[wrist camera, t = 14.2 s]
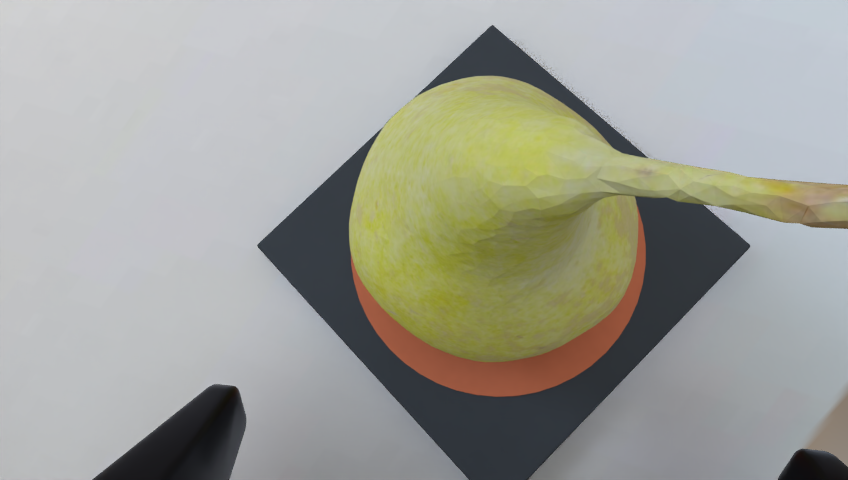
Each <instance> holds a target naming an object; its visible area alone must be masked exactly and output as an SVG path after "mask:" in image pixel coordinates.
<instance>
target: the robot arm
mask: <svg viewBox="0 0 848 480" xmlns="http://www.w3.org/2000/svg"><path fill="white" fill-rule="evenodd" d="M245 427H246V414H245V411H244V407H243V403H242V400H241V396H240V392H239V390H238V389H237V388H236V387H235V386H230V385H220V384H215V385H212V386H210V387H208V388H207V389H206V390H204V391H203V392H202V393H201V394H199V395H198V396H197V397H196V398H194V399H193V400H192V401H191V402H189V403H188V404H187V405H186V406H184V407H183V408H182V409H181V410H179V411H178V412H177V413H175V414H174V415H173V416H172V417H170V418H169V419H168V420H167V421H165V422H164V423H163V424H162V425H160V426H159V427H158V428H157V429H155V430H154V431H153V432H152V433H150V434H149V435H148V436H147V437H145V438H144V439H143V440H142V441H140V442H139V443H138V444H137V445H135V446H134V447H133V448H132V449H130V450H129V451H128V452H126V453H125V454H124V455H123V456H121V457H120V458H119V459H118V460H116V461H115V462H114V463H113V464H111V465H110V466H109V467H108V468H106V469H105V470H104V471H103V472H101V473H100V474H99V475H98V476H96V477H95V478H94V479H93V480H229V479H230V476H231V472H232V469H233V466H234V463H235V460H236V457H237V454H238V450H239V447H240V444H241V441H242V438H243V435H244V431H245ZM778 480H848V467H847V466H846V465H845V464H844V463H842V461H840V460H839V459H838V458H837V457H836V456H834V455H833V454H831V453H829V452H825V451H818V450H810V449H800V450H798V451H796V452H795V453H794V455H793V456H792V458H791V459H790V461H789V462H788V464H787V465H786V467H785V468H784V470H783V471H782V473H781V474H780V476H779V478H778Z"/></svg>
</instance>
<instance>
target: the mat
mask: <svg viewBox="0 0 848 480" xmlns="http://www.w3.org/2000/svg"><path fill="white" fill-rule="evenodd" d="M475 76H501V77H506V78H511V79H516V80H519V81H522V82H525V83H528V84H530V85H532V86H534V87H536V88H538V89H540V90H542V91H544V92H545V93H547V94H549V95H550V96H552V97H554V98H555V99H557V100H558V101H560V102H562V103H563V104H564V105H566V106H567V107H569V108H570V109H571V110H573V111H574V112H576V113H577V114H578V115H580V116H581V117H582V118H583V119H585V120H586V121H587V122H588V123H589V124H591V125H592V126H593V127H594V128H595V129H596V130H597V131H598V132H599V133H600V134H601V135H602V136H603V137H604V139H605V140H606V141H607V142H608V143H609V144H610V145H611V146H612V148H614V149H615V150H617V151H619V152H621V153H623V154H628V155H633V156H638V157H644V158H648V157H646V156H645V155H644V154H643V153H642V152H641V151H639V150H638V149H637V148H636V147H635V146H633V145H632V144H631V143H630V142H629V141H628V140H626V139H625V138H624V137H623V136H622V135H621V134H619V133H618V132H617V131H616V130H615V129H614V128H612V127H611V126H610V125H609V124H608V123H607V122H605V121H604V120H603V119H602V118H601V117H600V116H598V115H597V114H596V113H595V112H594V111H593V110H591V109H590V108H589V107H588V106H587V105H585V104H584V103H583V102H582V101H581V100H580V99H578V98H577V97H576V96H575V95H574V94H573V93H571V92H570V91H569V90H568V89H567V88H566V87H564V86H563V85H562V84H561V83H560V82H559V81H557V80H556V79H555V78H554V77H553V76H552V75H550V74H549V73H548V72H547V71H546V70H545V69H543V68H542V67H541V66H540V65H539V64H537V63H536V62H535V61H534V60H533V59H532V58H530V57H529V56H528V55H527V54H526V53H525V52H523V51H522V50H521V49H520V48H519V47H518V46H516V45H515V44H514V43H513V42H512V41H511V40H509V39H508V38H507V37H506V36H505V35H504V34H502V33H501V32H500V31H499V30H498V29H497V28H495V27H494V26H493V25H492V26H491V27H489V28H488V29H487V30H486V31H485V32H484V33H483V34H482V35H481V36H480V37H479V38H478V39H477V40H476V41H475V42H473V43H472V44H471V45H470V46H469V47H468V48H467V49H466V50H465V51H464V52H463V53H462V54H461V55H460V56H459V57H457V58H456V59H455V60H454V61H453V62H452V63H451V64H450V65H449V66H448V67H447V68H446V69H445V70H444V71H443V72H441V73H440V74H439V75H438V76H437V77H436V78H435V79H434V80H433V81H432V82H431V83H430V84H429V85H428V86H426V87H425V88H424V89H423V90H422V91H421V92H420V93H419V94H418V95H420V94H422V93H424V92H426V91H428V90H430V89H432V88H434V87H437V86H439V85H442V84H445V83H448V82H452V81H455V80H459V79H463V78H468V77H475ZM418 95H417V96H418ZM417 96H416V97H417ZM382 129H383V128H382ZM382 129H381V130H382ZM381 130H380V131H378V132H377V133H376V134H375V135H374V136H373V137H372V138H371V139H370V140H369V141H368V142H367V143H366V144H365V145H364V146H362V147H361V148H360V149H359V150H358V151H357V152H356V153H355V154H354V155H353V156H352V157H351V158H350V159H349V160H347V161H346V162H345V163H344V164H343V165H342V166H341V167H340V168H339V169H338V170H337V171H336V172H335V173H334V174H333V175H331V176H330V177H329V178H328V179H327V180H326V181H325V182H324V183H323V184H322V185H321V186H320V187H319V188H318V189H317V190H315V191H314V192H313V193H312V194H311V195H310V196H309V197H308V198H307V199H306V200H305V201H304V202H303V203H302V204H301V205H299V206H298V207H297V208H296V209H295V210H294V211H293V212H292V213H291V214H290V215H289V216H288V217H287V218H286V219H284V220H283V221H282V222H281V223H280V224H279V225H278V226H277V227H276V228H275V229H274V230H273V231H272V232H271V233H270V234H268V235H267V236H266V237H265V238H264V239H263V240H262V241H261V242H260V243H259V244H258V245H257V246H258V248H259V249H260V250H261V251H262V252H263V253H264V254H265V255H266V256H267V258H268V259H269V260H270V261H271V262H272V263H273V264H274V265H275V266H276V267H277V269H278V270H279V271H280V272H281V273H282V274H283V275H284V276H285V277H286V278H287V280H288V281H289V282H290V283H291V284H292V285H293V286H294V287H295V288H296V289H297V291H298V292H299V293H300V294H301V295H302V296H303V297H304V298H305V299H306V300H307V302H308V303H309V304H310V305H311V306H312V307H313V308H314V309H315V310H316V311H317V313H318V314H319V315H320V316H321V317H322V318H323V319H324V320H325V321H326V323H327V324H328V325H329V326H330V327H331V328H332V329H333V330H334V331H335V332H336V334H337V335H338V336H339V337H340V338H341V339H342V340H343V341H344V342H345V343H346V345H347V346H348V347H349V348H350V349H351V350H352V351H353V352H354V353H355V354H356V356H357V357H358V358H359V359H360V360H361V361H362V362H363V363H364V364H365V365H366V367H367V368H368V369H369V370H370V371H371V372H372V373H373V374H374V375H375V376H376V378H377V379H378V380H379V381H380V382H381V383H382V384H383V385H384V386H385V387H386V389H387V390H388V391H389V392H390V393H391V394H392V395H393V396H394V397H395V398H396V400H397V401H398V402H399V403H400V404H401V405H402V406H403V407H404V408H405V409H406V411H407V412H408V413H409V414H410V415H411V416H412V417H413V418H414V419H415V420H416V422H417V423H418V424H419V425H420V426H421V427H422V428H423V429H424V430H425V431H426V433H427V434H428V435H429V436H430V437H431V438H432V439H433V440H434V441H435V442H436V444H437V445H438V446H439V447H440V448H441V449H442V450H443V451H444V452H445V453H446V455H447V456H448V457H449V458H450V459H451V460H452V461H453V462H454V463H455V464H456V466H457V467H458V468H459V469H460V470H461V471H462V472H463V473H464V474H465V475H466V477H467V478H468V479H469V480H527V479H528V478H529V477H530V476H531V475H532V474H533V473H534V472H535V471H536V470H537V469H538V468H539V467H540V466H541V465H542V464H543V463H544V462H545V461H546V459H547V458H548V457H549V456H550V455H551V454H552V453H553V452H554V451H555V450H556V449H557V448H558V447H559V446H560V445H561V444H562V443H563V442H564V441H565V440H566V439H567V438H568V437H569V435H570V434H571V433H572V432H573V431H574V430H575V429H576V428H577V427H578V426H579V425H580V424H581V423H582V422H583V421H584V420H585V419H586V418H587V417H588V416H589V415H590V414H591V412H592V411H593V410H594V409H595V408H596V407H597V406H598V405H599V404H600V403H601V402H602V401H603V400H604V399H605V398H606V397H607V396H608V395H609V394H610V393H611V392H612V391H613V390H614V388H615V387H616V386H617V385H618V384H619V383H620V382H621V381H622V380H623V379H624V378H625V377H626V376H627V375H628V374H629V373H630V372H631V371H632V370H633V369H634V368H635V367H636V366H637V364H638V363H639V362H640V361H641V360H642V359H643V358H644V357H645V356H646V355H647V354H648V353H649V352H650V351H651V350H652V349H653V348H654V347H655V346H656V345H657V344H658V343H659V342H660V340H661V339H662V338H663V337H664V336H665V335H666V334H667V333H668V332H669V331H670V330H671V329H672V328H673V327H674V326H675V325H676V324H677V323H678V322H679V321H680V320H681V319H682V318H683V316H684V315H685V314H686V313H687V312H688V311H689V310H690V309H691V308H692V307H693V306H694V305H695V304H696V303H697V302H698V301H699V300H700V299H701V298H702V297H703V296H704V295H705V293H706V292H707V291H708V290H709V289H710V288H711V287H712V286H713V285H714V284H715V283H716V282H717V281H718V280H719V279H720V278H721V277H722V276H723V275H724V274H725V273H726V272H727V271H728V269H729V268H730V267H731V266H732V265H733V264H734V263H735V262H736V261H737V260H738V259H739V258H740V257H741V256H742V255H743V254H744V253H745V252H746V251H747V250H748V249H749V247H750V245H749V244H748V243H747V242H746V241H745V240H744V239H742V238H741V237H740V236H739V235H738V234H736V233H735V232H734V231H733V230H732V229H731V228H729V227H728V226H727V225H726V224H725V223H724V222H722V221H721V220H720V219H719V218H718V217H717V216H715V215H714V214H713V213H712V212H711V211H710V210H708V209H707V208H706V207H705V206H704V205H703V204H695V203H687V202H678V201H675V200H673V199H670V198H667V197H665V198H649V197H637V196H635V199H636V205H637V212H638V244H637V255H636V262H635V266H634V270H633V274H632V278H631V281H630V283H629V285H628V288H627V290H626V292H625V295H624V296H623V298H622V299H621V301H620V302H619V304H618V305H617V307H616V308H615V309H614V310H613V311H612V312H611V313H610V314H609V315H608V316H607V317H606V318H604V319H603V320H602V321H600V322H599V323H598V324H596V325H595V326H594V327H592V328H590V329H589V330H587V331H586V332H584V333H582V334H581V335H579V336H577V337H576V338H574V339H572V340H571V341H569V342H567V343H566V344H564V345H562V346H560V347H558V348H556V349H553V350H551V351H549V352H546V353H544V354H541V355H537V356H533V357H529V358H524V359H519V360H513V361H505V362H480V361H473V360H469V359H465V358H461V357H457V356H454V355H451V354H449V353H446V352H444V351H441V350H439V349H437V348H434V347H432V346H430V345H429V344H427V343H425V342H424V341H422V340H421V339H419V338H417V337H416V336H414V335H413V334H412V333H410V332H409V331H408V330H406V329H405V328H404V327H403V326H401V325H400V324H399V323H398V322H397V321H396V320H394V319H393V318H392V317H391V316H390V315H389V314H388V313H387V312H386V311H385V310H384V309H383V308H382V307H381V306H380V305H379V304H378V303H377V301H376V300H375V299H374V298H373V297H372V295H371V294H370V293H369V291H368V290H367V289H366V287H365V286H364V284H363V283H362V281H361V279H360V277H359V276H358V274H357V271H356V269H355V266H354V263H353V259H352V256H351V251H350V243H349V219H350V212H351V207H352V202H353V197H354V193H355V189H356V185H357V181H358V178H359V175H360V172H361V169H362V167H363V164H364V162H365V159H366V157H367V155H368V152H369V150H370V149H371V147H372V145H373V143H374V142H375V140H376V138H377V136H378V135H379V133H380V132H381Z"/></svg>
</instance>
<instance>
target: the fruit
mask: <svg viewBox="0 0 848 480" xmlns="http://www.w3.org/2000/svg"><path fill="white" fill-rule="evenodd" d="M635 196H637V197H649V198H665V197H667V198H670V199H673V200H675V201H678V202H687V203H695V204H703V205H711V206H718V207H723V208H727V209H732V210H736V211H741V212H745V213H749V214H753V215H757V216H761V217H765V218H768V219H772V220H776V221H780V222H784V223H800V224H803V225H806V226H810V227H819V228H844V229H848V185H841V184H826V183H813V182H799V181H786V180H775V179H764V178H752V177H746V176H742V175H738V174H734V173H731V172H725V171H719V170H713V169H706V168H700V167H694V166H688V165H683V164H677V163H672V162H666V161H660V160H655V159H649V158H644V157H638V156H633V155H628V154H623V153H621V152H619V151H617V150H615V149H614V148H612V146H611V145H610V144H609V143H608V142H607V141H606V140H605V139H604V137H603V136H602V135H601V134H600V133H599V132H598V131H597V130H596V129H595V128H594V127H593V126H592V125H591V124H589V123H588V122H587V121H586V120H585V119H583V118H582V117H581V116H580V115H578V114H577V113H576V112H574V111H573V110H571V109H570V108H569V107H567V106H566V105H564V104H563V103H562V102H560V101H558V100H557V99H555V98H554V97H552V96H550V95H549V94H547V93H545V92H544V91H542V90H540V89H538V88H536V87H534V86H532V85H530V84H528V83H525V82H522V81H519V80H516V79H511V78H506V77H501V76H475V77H468V78H463V79H459V80H455V81H452V82H448V83H445V84H442V85H439V86H437V87H434V88H432V89H430V90H428V91H426V92H424V93H422V94H420V95H418V96H417V97H415V98H414V99H413V100H411V101H410V102H409V103H407V104H406V105H405V106H404V107H403V108H401V109H400V110H399V111H398V112H397V113H396V114H395V115H394V116H393V117H392V118H391V119H390V120H389V121H388V122H387V123H386V124H385V126H384V127H383V129H382V130H381V132H380V133H379V135H378V136H377V138H376V140H375V142H374V143H373V145H372V147H371V149H370V150H369V152H368V155H367V157H366V159H365V162H364V164H363V167H362V169H361V172H360V175H359V178H358V181H357V185H356V189H355V193H354V197H353V202H352V207H351V212H350V219H349V243H350V251H351V256H352V259H353V263H354V266H355V269H356V271H357V274H358V276H359V277H360V279H361V281H362V283H363V284H364V286H365V287H366V289H367V290H368V291H369V293H370V294H371V295H372V297H373V298H374V299H375V300H376V301H377V303H378V304H379V305H380V306H381V307H382V308H383V309H384V310H385V311H386V312H387V313H388V314H389V315H390V316H391V317H392V318H393V319H394V320H396V321H397V322H398V323H399V324H400V325H401V326H403V327H404V328H405V329H406V330H408V331H409V332H410V333H412V334H413V335H414V336H416V337H417V338H419V339H421V340H422V341H424V342H425V343H427V344H429V345H430V346H432V347H434V348H437V349H439V350H441V351H444V352H446V353H449V354H451V355H454V356H457V357H461V358H465V359H469V360H473V361H480V362H505V361H513V360H519V359H524V358H529V357H533V356H537V355H541V354H544V353H546V352H549V351H551V350H553V349H556V348H558V347H560V346H562V345H564V344H566V343H567V342H569V341H571V340H572V339H574V338H576V337H577V336H579V335H581V334H582V333H584V332H586V331H587V330H589V329H590V328H592V327H594V326H595V325H596V324H598V323H599V322H600V321H602V320H603V319H604V318H606V317H607V316H608V315H609V314H610V313H611V312H612V311H613V310H614V309H615V308H616V307H617V305H618V304H619V302H620V301H621V299H622V298H623V296H624V295H625V292H626V290H627V288H628V285H629V283H630V281H631V278H632V274H633V270H634V266H635V262H636V255H637V244H638V212H637V205H636V199H635Z"/></svg>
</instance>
